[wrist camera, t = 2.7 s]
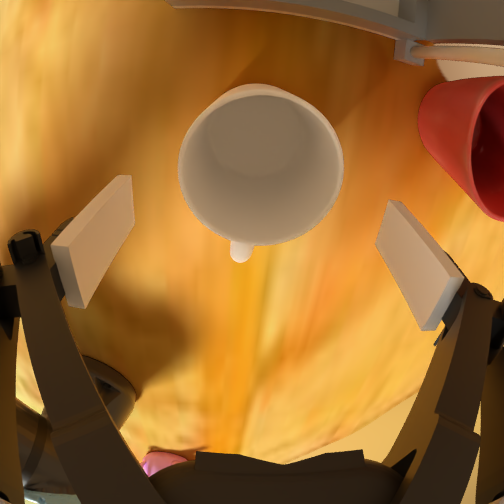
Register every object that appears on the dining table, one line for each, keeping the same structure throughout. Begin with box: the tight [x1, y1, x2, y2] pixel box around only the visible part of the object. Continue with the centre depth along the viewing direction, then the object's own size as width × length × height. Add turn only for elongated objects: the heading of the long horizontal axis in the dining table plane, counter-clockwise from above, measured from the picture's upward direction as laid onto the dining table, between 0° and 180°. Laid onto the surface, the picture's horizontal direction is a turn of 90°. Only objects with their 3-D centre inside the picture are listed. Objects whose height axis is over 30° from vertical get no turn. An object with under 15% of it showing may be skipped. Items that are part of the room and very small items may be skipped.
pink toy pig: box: [140, 452, 187, 477], centre depth 56 cm, size 12×14×9 cm
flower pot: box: [418, 76, 504, 222], centre depth 18 cm, size 11×11×10 cm
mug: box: [178, 83, 344, 263], centre depth 20 cm, size 12×8×10 cm
